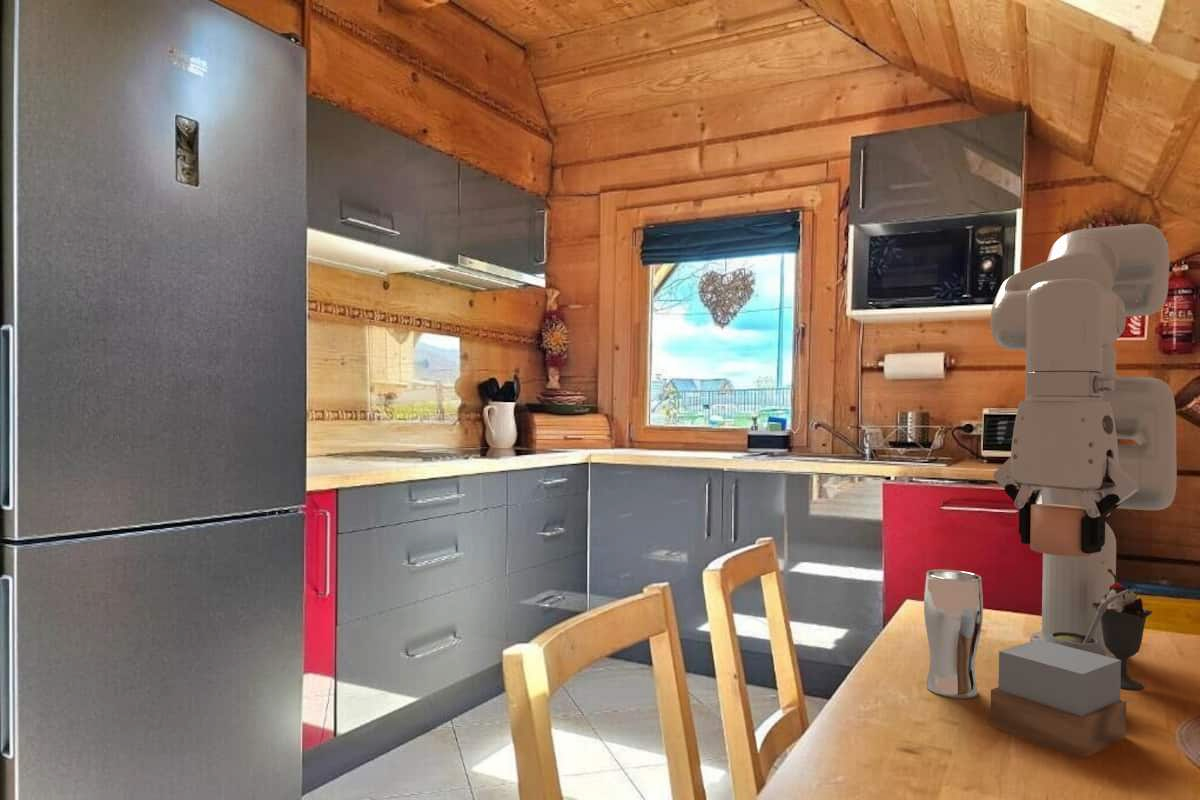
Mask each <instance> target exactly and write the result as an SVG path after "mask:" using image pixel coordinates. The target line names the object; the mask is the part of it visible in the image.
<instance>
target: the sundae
mask: <svg viewBox="0 0 1200 800" xmlns="http://www.w3.org/2000/svg"><path fill="white" fill-rule="evenodd" d="M1107 571H1108V572H1109V573H1111V574H1112V575H1113V577H1114V579H1115V583H1114V584H1113V585H1111V586H1110V587H1109V589H1110V591H1109V592H1108V593H1107V594H1106V595H1105V596H1104V597H1103V599H1102V602H1101V603H1103V602H1104V601H1105V600H1107V599H1108V598H1109V597H1111V596H1113V595H1115V594H1118V593H1120V592H1123V591H1125V590H1128V592H1127V593H1125V594H1124V595H1122V596H1120V597H1119V598H1117V599H1115V600H1114V601H1112V602H1111V603H1110V604H1109V605H1108V608H1107V609H1106V611H1105V613H1103V615H1102V617H1101V626H1102V634H1103V639H1104V644H1105V646H1106V647H1107V649H1108V650H1109V651H1110V652H1111V653H1112V654H1114V655H1115V657H1116V658H1117V659H1119V660H1121V685H1120V690H1121V689H1122V690H1130V691H1131V690H1132V691H1133V690H1136V691H1137V690H1141V689H1143V688H1144V684H1143V683H1142V682H1140V681H1138V680H1136V679H1133V678H1131V676H1129V674H1128V669H1127V668H1128V667H1127V663H1128V662H1127V661H1128V659H1129V658H1131V657H1133V656H1135V655H1136V654H1137V653H1138V652H1139V651H1140V648H1141V645H1142V641H1143V636H1144V632H1145V631H1144V629H1145V625H1146V619H1147V617H1148V616H1150V615H1152V614H1153V610H1149V609H1148V610H1147V609H1146V608H1145V607H1144V606H1143V599H1142V598H1138V597H1137V595H1136V594H1135V593H1134V592H1133V591H1132V590H1131V589H1128V588H1126V587H1124V586H1123V585H1122V583H1119V582H1118V579H1117V575H1116V576H1115V574H1114V573H1113V572H1112V569H1107ZM1101 603H1093V604H1092V605H1093V607H1095V608H1096V609H1097V610H1098V608H1099V606H1100V604H1101Z"/></svg>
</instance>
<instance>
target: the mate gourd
mask: <svg viewBox="0 0 1200 800" xmlns="http://www.w3.org/2000/svg"><path fill="white" fill-rule="evenodd" d="M1127 592H1128V590H1125V591H1123V592H1120V593H1118V594H1115V595H1113V596H1111V597H1109V598H1108V599H1107V600H1105V601H1104V602H1103V603H1101V604H1100V606H1099V608H1098V612H1097V614H1096V617H1095V619H1094V621H1093V623H1092V625H1091V628H1090V630H1089V632H1088V634H1087V636H1086V635H1083V634H1078V633H1071V632H1054V633H1051V634H1050V635H1049V636H1048V637H1047V638H1046V640H1045V641H1048V642H1052V643H1056V644H1060V645H1064V646H1067V647H1071V648H1075V649H1079V650H1083V651H1087V652H1091V653H1095V654H1099V655H1103V656H1105V651H1104V650H1103V648H1102V647H1101V645H1100V644H1099V642H1098V641H1097V640H1096V639H1094V638H1092V636H1093V634H1094V632H1095V630H1096V627H1097V625H1098V623H1099V621H1100V619H1101V617H1102V615H1103V613H1105V611H1106V609H1107V608H1108V605H1109V604H1110V603H1111V602H1112V601H1114V600H1115V599H1117V598H1119V597H1120V596H1122V595H1124V594H1125V593H1127Z"/></svg>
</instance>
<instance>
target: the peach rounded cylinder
mask: <svg viewBox="0 0 1200 800" xmlns="http://www.w3.org/2000/svg"><path fill="white" fill-rule="evenodd" d="M1085 516H1087V511H1086V509H1085V507H1078V506H1069V505H1056V504H1042V503H1037V504H1033V505H1031V522H1030V544H1029V549H1030V550H1031V551H1032V552H1035V553H1039V554H1043V553H1045V554H1051V555H1059V556H1074V557H1082V556H1090V555H1091V554H1087V553H1083V552H1082V551H1081V523H1082V518H1083V517H1085Z"/></svg>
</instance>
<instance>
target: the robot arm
mask: <svg viewBox="0 0 1200 800" xmlns="http://www.w3.org/2000/svg"><path fill="white" fill-rule="evenodd" d="M1169 249H1170V248H1169V244H1168V241H1167V239H1166V237H1165V235H1164V233H1163V232H1162V231H1161V230H1160V228H1158V227H1157V226H1155V225H1152V224H1149V223H1135V224H1124V225H1123V224H1122V225H1115V226H1114V225H1113V226H1112V225H1111V226H1103V227H1090V228H1089V227H1088V228H1082V229H1078V230H1073V231H1070V232H1067V233H1066V234H1063V235H1062V236H1061V237H1060V238H1058V239H1057V240H1056V241H1055V242H1054V243H1053V245H1052V247H1051V248H1050V251H1049V253H1048V256H1047V259H1046V261H1045V262H1041V263H1040V264H1037V265H1034V266H1032V267H1030V268H1029V267H1028V268H1027V269H1024V270H1021V271H1018V272H1017V273H1014V274H1013V275H1011V276H1009V277H1008V278H1007V279H1005V280H1004V281H1003V282H1002V284H1001V285H1000V287H999V288H998V290H997V293H996V296H995V299H994V301H993V304H992V308H991V312H990V323H989V324H990V331H991V335H992V338H993V340H994V341H995V343H996V344H997V345H998V346H999V347H1001V348H1002V349H1005V350H1007V351H1025V390H1024V391H1025V392H1024V393H1025V394H1024V395H1025V397H1024V399H1025V400H1020V402H1019V404H1018V408H1017V412H1016V416H1015V420H1014V426H1013V434H1012V440H1011V447H1010V448H1011V451H1010V457H1009V458H1008V459H1007V460H1006V461H1005V462H1004V463H1003V464H1002V465H1000V467H999V468H998V469H997V470H995V471H994V473H993V474H992V476H993V479H994V480H995V481H996V482H997V483H998V484H999V486H1000V487H1001V488H1002V489H1003V490H1004V492H1005V493H1006V494H1007V496H1009V498H1010V499H1011V500H1012V501H1013V504H1014V507H1015V508H1017V509H1018V534H1019V535H1020V542H1021V544H1024V545H1030V522H1031V505H1033V504H1038V501H1039V500H1040V497H1041V504H1056V505H1069V506H1078V507H1085V509H1086V511H1087V516H1085V517H1083V518H1082V523H1081V551H1082V552H1083V553H1087V554H1091V555H1090V556H1082V557H1074V556H1059V555H1051V554H1045V553H1042V587H1041V588H1042V593H1041V594H1042V595H1041V597H1042V598H1041V601H1042V602H1041V603H1042V604H1041V630H1040V631H1036V632H1033V633H1032V634H1030V636H1029V637H1030V641H1029V642H1032V641H1035V640H1038V639H1040V640H1044V641H1045V640H1046V638H1047V637H1048V636H1049V635H1050V634H1051V633H1054V632H1071V633H1078V634H1083V635H1086V636H1087V634H1088V632H1089V630H1090V628H1091V625H1092V623H1093V621H1094V619H1095V617H1096V614H1097V612H1098V610H1097V609H1096V608H1095V607H1093V605H1092V604H1093V603H1101V602H1102V599H1103V597H1104V596H1105V595H1106V594H1107V593H1108V592H1109V591H1110V589H1109V587H1110V586H1111V585H1113V584H1114V583H1115V579H1114V577H1113V575H1112V574H1111V573H1109V572H1108V571H1107V569H1112V572H1113V573H1114V574H1115V576H1116V577H1117V575H1116V573H1117V569H1116V568H1117V539H1116V536H1115V534H1114V533H1115V532H1114V531H1113V529H1112V528H1111V526H1110V525H1109V524H1108V523H1107V522H1106V517H1108V516H1110V515H1111V513H1112V512H1113V511H1114V510H1116V509H1125V510H1140V511H1161V510H1164V509H1167V508H1168V507H1170V506H1171V505H1172V503H1173V501H1174V500H1175V497H1176V492H1177V483H1178V482H1177V481H1178V480H1177V479H1178V478H1177V477H1178V476H1177V473H1178V472H1177V471H1178V470H1177V417H1176V416H1177V413H1176V412H1177V410H1176V400H1175V396H1174V393H1173V391H1172V388H1171V387H1170V385H1169V384H1168V383H1167V382H1166V381H1164V380H1162V379H1161V378H1156V377H1151V376H1117V371H1116V370H1117V351H1116V348H1115V346H1114V345H1113V344H1114V343H1115V342H1116V341H1117V340H1118V339H1119V338H1120V337H1121V335H1122V334H1123V333H1124V331H1125V328H1126V322H1127V317H1129V318H1130V317H1146V316H1150V315H1154V314H1156V313H1158V312H1159V311H1161V310H1162V308H1163V307H1164V305H1165V303H1166V301H1167V298H1168V294H1169V281H1170V280H1169V277H1170V259H1171V258H1170V250H1169ZM1118 440H1132V441H1135V442H1136V443H1137V444H1122V443H1121V444H1119V443H1118ZM1092 638H1094V639H1096V640H1097V641H1098V642H1099V644H1100V645H1101V647H1102V648H1103V650H1104V651H1105V656H1107V657H1111V658H1115V659H1117V658H1116V657H1115V655H1114V654H1112V653H1111V652H1110V651H1109V650H1108V649H1107V647H1106V646H1105V644H1104V639H1103V634H1102V626H1101V619H1100V621H1099V623H1098V625H1097V627H1096V630H1095V632H1094V634H1093V636H1092Z"/></svg>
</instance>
